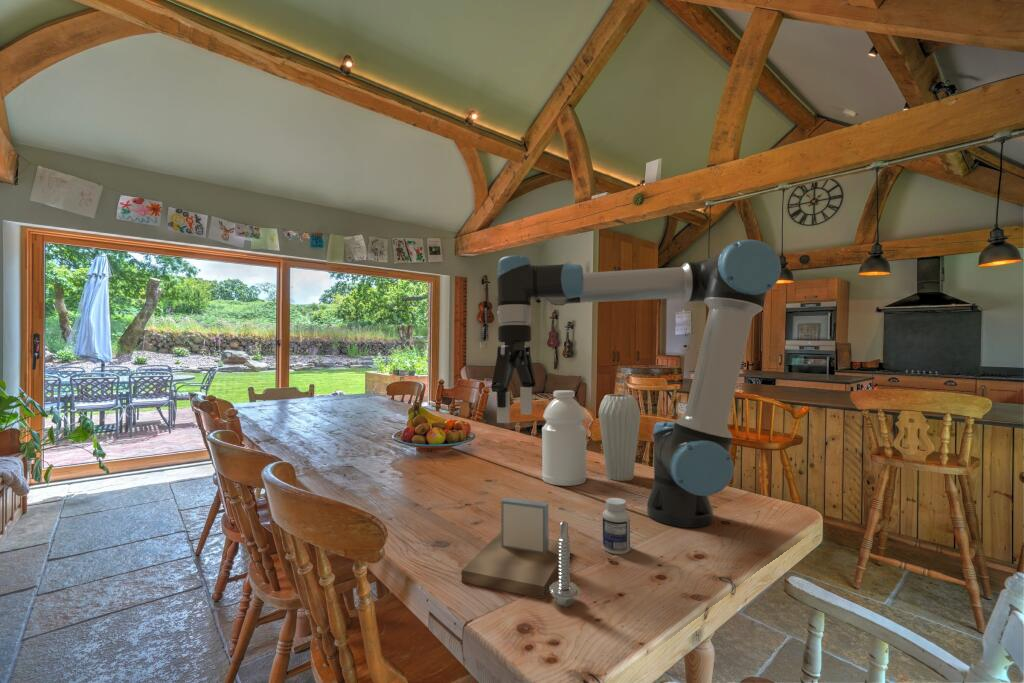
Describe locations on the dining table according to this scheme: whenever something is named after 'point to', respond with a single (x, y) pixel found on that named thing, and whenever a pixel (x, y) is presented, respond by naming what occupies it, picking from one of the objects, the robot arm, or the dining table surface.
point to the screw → (564, 572)
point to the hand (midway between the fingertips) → (515, 418)
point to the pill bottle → (616, 527)
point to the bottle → (564, 441)
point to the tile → (524, 525)
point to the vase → (619, 434)
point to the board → (513, 569)
